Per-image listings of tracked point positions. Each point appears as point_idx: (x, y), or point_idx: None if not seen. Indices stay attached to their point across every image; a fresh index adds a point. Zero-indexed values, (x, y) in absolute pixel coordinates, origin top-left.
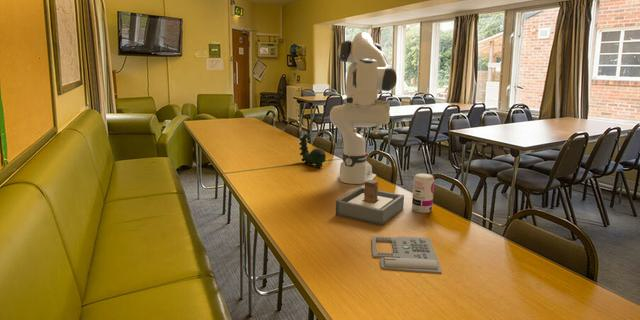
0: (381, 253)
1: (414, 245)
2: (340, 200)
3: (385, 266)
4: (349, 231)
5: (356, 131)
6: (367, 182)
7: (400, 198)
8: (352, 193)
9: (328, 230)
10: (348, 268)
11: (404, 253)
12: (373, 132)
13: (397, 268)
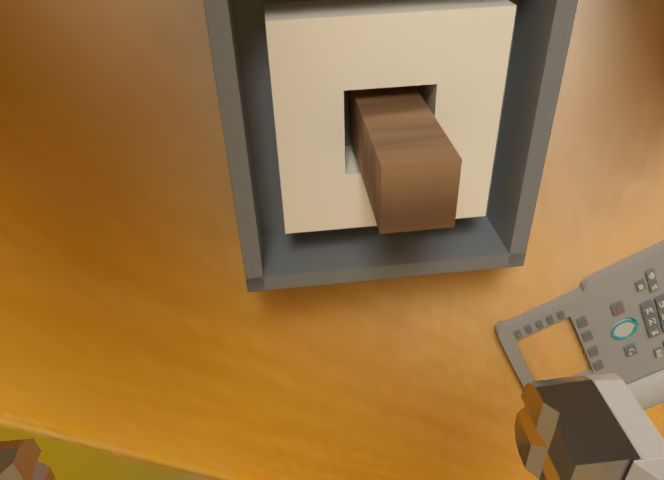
0: None
1: (653, 312)
2: (261, 272)
3: None
4: (395, 328)
5: (36, 466)
6: (402, 231)
7: (574, 5)
8: (240, 131)
9: (322, 361)
10: (493, 466)
11: (623, 359)
12: (539, 471)
13: None
